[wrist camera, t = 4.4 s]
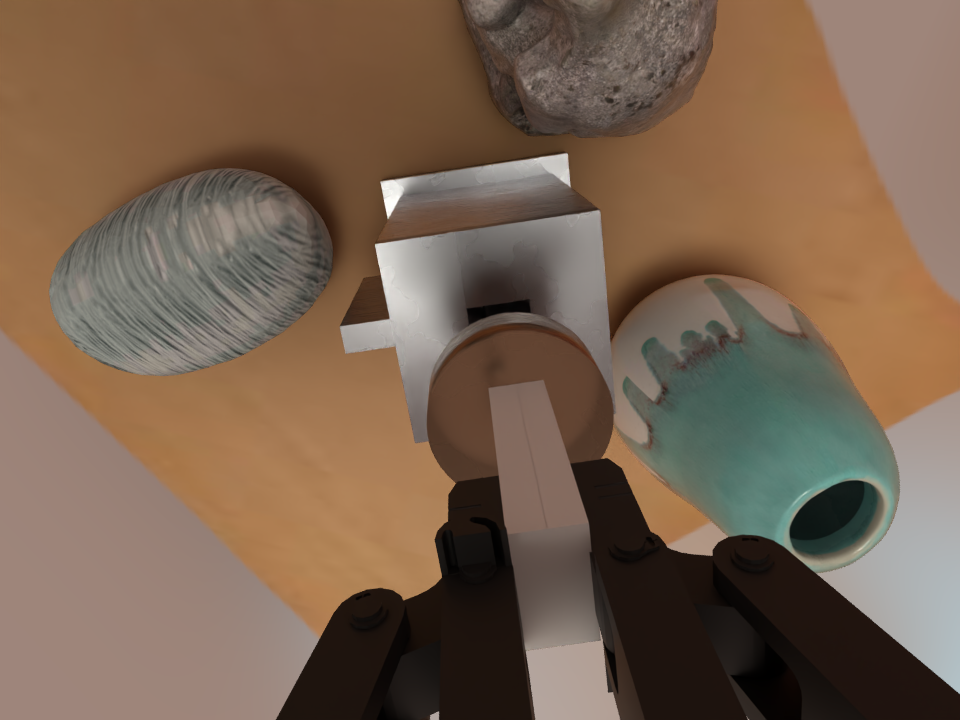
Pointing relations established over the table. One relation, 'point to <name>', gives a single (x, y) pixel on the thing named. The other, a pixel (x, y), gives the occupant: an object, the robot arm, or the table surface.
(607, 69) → the figurine
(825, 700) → the robot arm
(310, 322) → the table surface
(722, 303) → the vase
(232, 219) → the striped grey egg shape
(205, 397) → the table surface
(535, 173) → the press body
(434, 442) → the plunger
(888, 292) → the table surface
